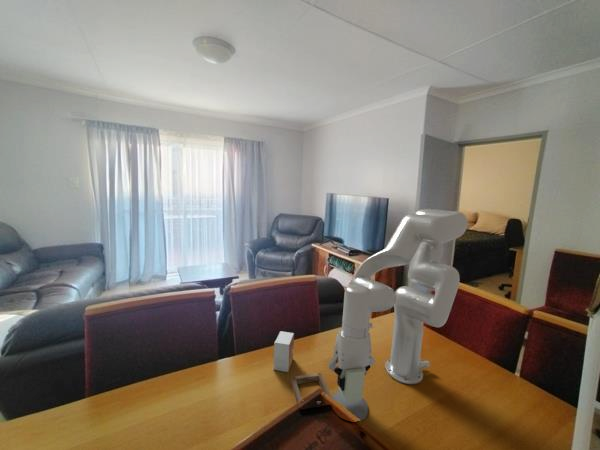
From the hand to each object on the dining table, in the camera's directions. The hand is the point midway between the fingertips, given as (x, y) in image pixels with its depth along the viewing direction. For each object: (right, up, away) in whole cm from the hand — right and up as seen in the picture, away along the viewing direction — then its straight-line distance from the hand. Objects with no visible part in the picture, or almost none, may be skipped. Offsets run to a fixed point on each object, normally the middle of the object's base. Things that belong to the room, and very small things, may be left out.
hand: (350, 385), depth 76 cm
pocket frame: (-11, -6, +5) cm, 14 cm away
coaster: (0, -7, +1) cm, 7 cm away
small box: (-21, -4, +18) cm, 28 cm away
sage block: (0, -2, 0) cm, 3 cm away
